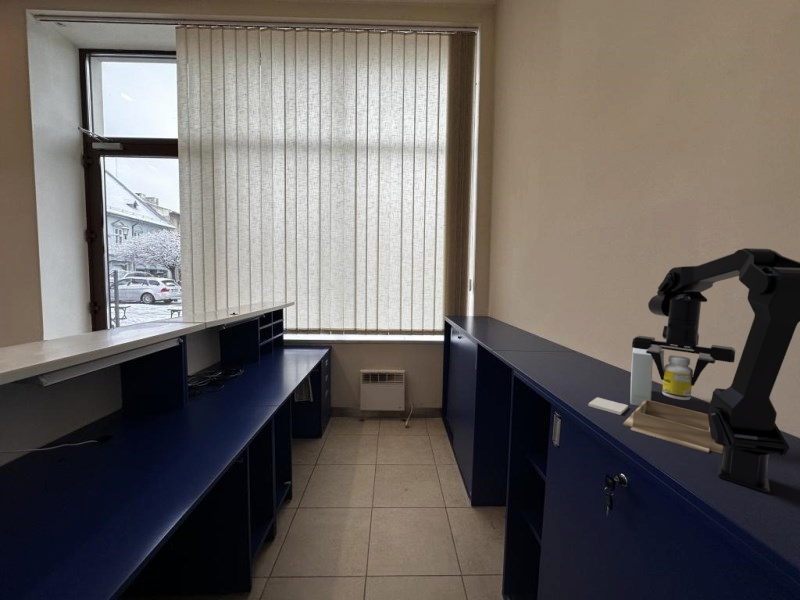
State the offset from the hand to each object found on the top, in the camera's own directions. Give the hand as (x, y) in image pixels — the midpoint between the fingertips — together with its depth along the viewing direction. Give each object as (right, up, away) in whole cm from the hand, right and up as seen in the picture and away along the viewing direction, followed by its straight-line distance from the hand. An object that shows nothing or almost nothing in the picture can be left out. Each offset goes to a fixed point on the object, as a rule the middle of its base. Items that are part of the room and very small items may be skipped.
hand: (677, 382), depth 81 cm
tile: (-8, -11, +14) cm, 20 cm away
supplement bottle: (0, -4, 0) cm, 4 cm away
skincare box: (+8, -11, +25) cm, 28 cm away
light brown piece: (-1, -12, +1) cm, 12 cm away
